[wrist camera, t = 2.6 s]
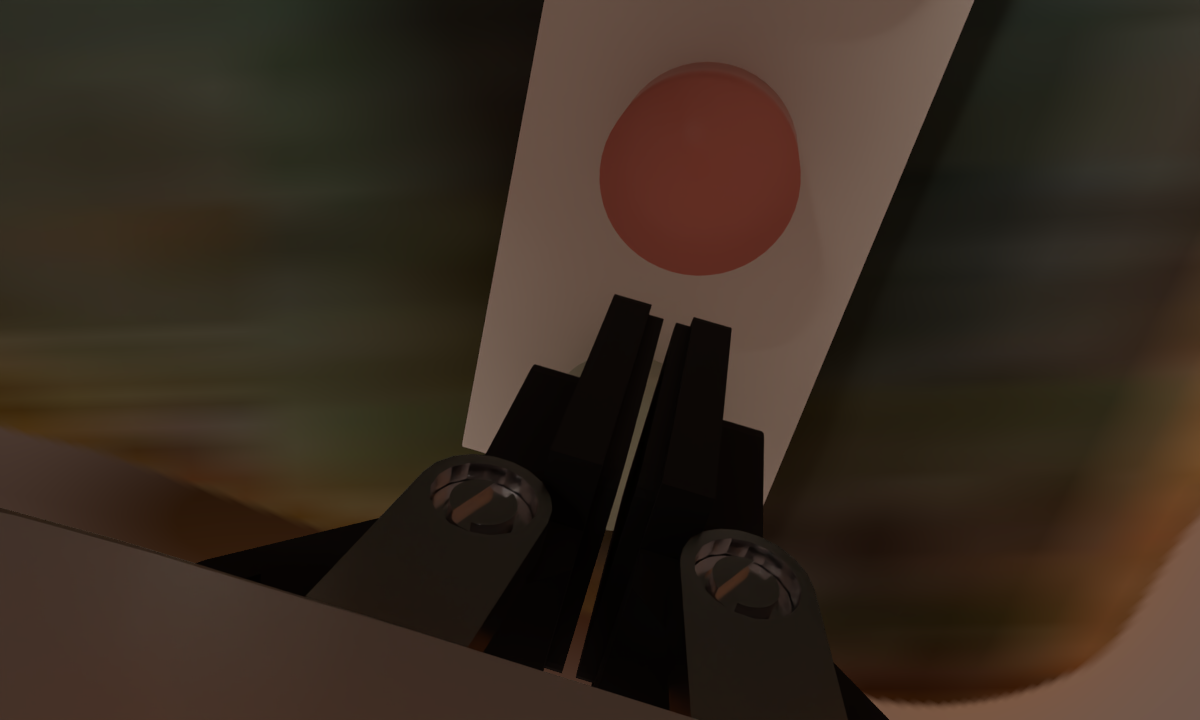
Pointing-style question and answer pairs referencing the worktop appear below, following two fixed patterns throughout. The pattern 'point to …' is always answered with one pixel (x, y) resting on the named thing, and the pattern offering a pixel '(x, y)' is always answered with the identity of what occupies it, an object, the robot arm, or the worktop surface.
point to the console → (749, 293)
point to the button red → (701, 169)
